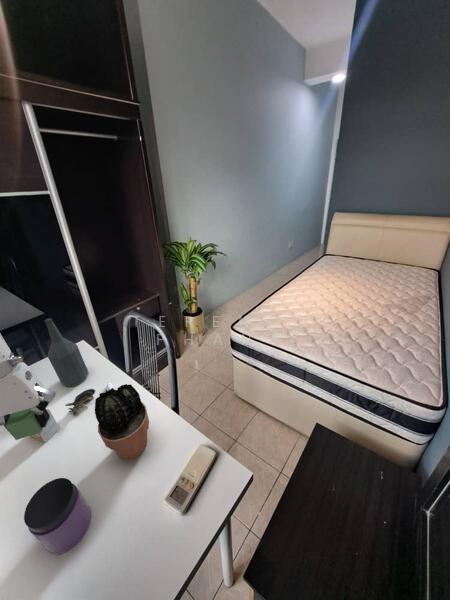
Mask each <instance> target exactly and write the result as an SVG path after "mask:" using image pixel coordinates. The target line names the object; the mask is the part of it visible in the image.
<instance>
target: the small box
mask: <svg viewBox="0 0 450 600" xmlns="http://www.w3.org/2000/svg"><path fill="white" fill-rule="evenodd" d="M46 410H47V411H48V413H49V415H50V418H49V420H48V421H47V424H46V427H44V428H43V429H42V432H41V433H38V434H35V435H31V436H29V437H31V438H34V439H35V440H38V441H40V442H42V443H44V444H45V443H47V442H48V441H49V440H50V439H51V438H52V437H53V436H54V435H55V434H56V433H57V432H58V431H59V430H60V429H61V427H60V426H59V424H58V422H57V420H56V418H55V417H54V415H53V413H52V411H51V410H50V408H48V407H46Z"/></svg>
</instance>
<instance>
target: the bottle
mask: <svg viewBox="0 0 450 600" xmlns="http://www.w3.org/2000/svg"><path fill="white" fill-rule="evenodd" d="M44 323H45V325H46V328H47V331H48V335H49V337H50V340H51V343H50V346H49V349H48V353H47V358H48V360H49V363H50V364H51V366H52V368H53V370H54V372H55V374H56V376H57V378H58V380H59V381H60V383H61V385H63V386H65V387H67V388H69V387H70V388H71V387H76V386H78V385H80V384H82V383H83V382H84V381H86V379H87V378H88V375H89V369H88V368H87V365H86V363H85V360H84V358H83V356H82V353H81V351H80V349H79V346H78V344H77V343H74V342H73V341H71V340H68V339H67V338H65V337H63V335H62V334H61V332H60V330H59V328H58V327H57V325H56V324H55V323H54V321H53V318H50V317H49V318H46V319H45V320H44Z"/></svg>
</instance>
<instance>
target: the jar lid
mask: <svg viewBox="0 0 450 600" xmlns="http://www.w3.org/2000/svg"><path fill="white" fill-rule="evenodd" d="M72 483H73V482H72V481H71V480H70V479H68V478H67V477H58V478H55V479H52V480H50V481H48V482H46V483H45V484H44V485H42V486H41V487H40V488H39V489H38V490H37V491H36V492H35V493H33V496H31V498H30V500H29V501H28V503H27V505H26V506H25V510H24V514H23V521H24V524H25V526H26V527H27V528H28V527H29V528H30V529H31V530H32V531H33V532H35V533H45V532H48V531H50V530H52V529H54V528H55V527H57V526H58V525H59V524H61V523H62V522H63V521H64V520H65V519H66V517H67V516H68V515H69V513H70V512H71V510H72V509H73V507H74V504H75V501H76V496H77V492H76V488H75V487H74V485H75V484H74V483H73V484H74V485H73V484H72Z"/></svg>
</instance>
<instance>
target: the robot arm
mask: <svg viewBox="0 0 450 600" xmlns="http://www.w3.org/2000/svg"><path fill="white" fill-rule="evenodd" d="M55 397H56V392H55V391H54V390H50V389H47V388H45V386H44V384H43V382H42V381H41V380H40V378H39V377H38V375H37V374H36V373H35V371H33V369H32V368H30V366H28V364H26V362H24V357H23V356H22V355H19V356H17V355H16V356H15V354H14V352H13V351H12V350H11V349H10V346H9V345H8V344H7V342H6V340H5V338H4V336H2V333H0V426H1V427H3V426H4V428H5V429H6V431H7V432H9V430H8V429H7V428H6V426H5V425H6V423H7V421H8V419H9V417H10V415H11V413H15V412H18V411H22V410H25V409H30V410H31V411H33V412H34V413H35V414H36V416H35V418H36V420H37V421H38V423H39V424H40V426H41V427H42V428H44V427H46V424H47V421H48V420H49V418H50V415H49V413H48V411H47V410H46V408H48V406H49V404H50V403H51V402H52V401H53V400H54V399H55ZM42 398H43V399H42ZM37 405H38V406H37ZM10 435H11V436H12V434H11V433H10Z"/></svg>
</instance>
